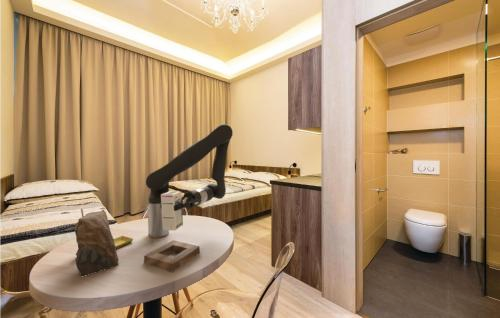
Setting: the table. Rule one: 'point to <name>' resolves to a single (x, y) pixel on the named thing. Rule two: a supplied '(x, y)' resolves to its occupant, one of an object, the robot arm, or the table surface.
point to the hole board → (172, 263)
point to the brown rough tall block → (95, 244)
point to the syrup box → (171, 210)
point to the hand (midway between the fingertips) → (167, 207)
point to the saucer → (122, 241)
